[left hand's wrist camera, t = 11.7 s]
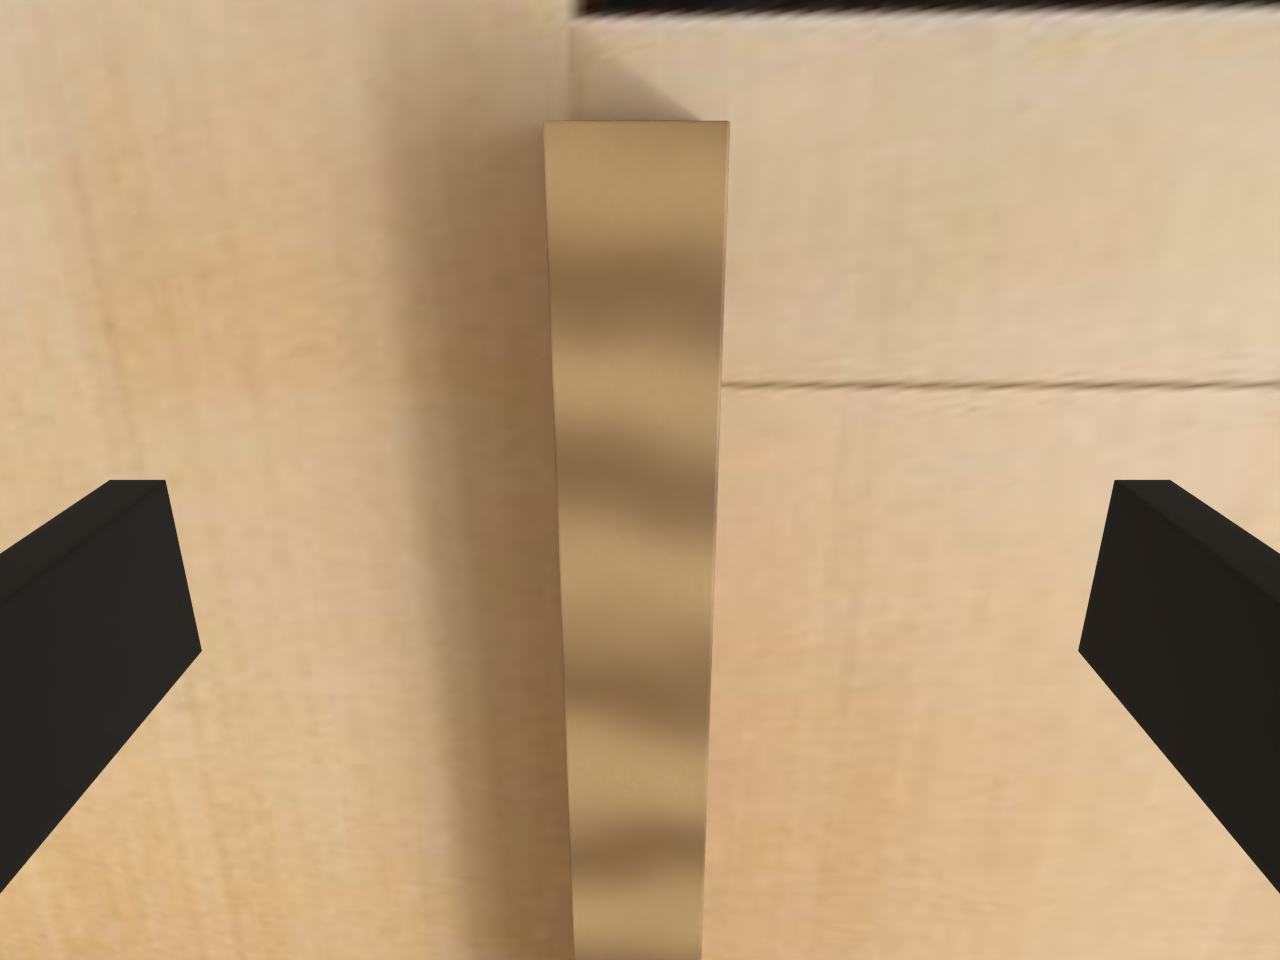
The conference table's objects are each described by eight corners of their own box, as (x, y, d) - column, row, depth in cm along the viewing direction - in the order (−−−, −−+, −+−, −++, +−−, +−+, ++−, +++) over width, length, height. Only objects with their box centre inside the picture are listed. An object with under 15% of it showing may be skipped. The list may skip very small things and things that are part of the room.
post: (564, 122, 31) (542, 120, 24) (705, 122, 31) (730, 120, 24) (595, 1206, 54) (590, 1388, 46) (678, 1205, 54) (686, 1387, 46)
